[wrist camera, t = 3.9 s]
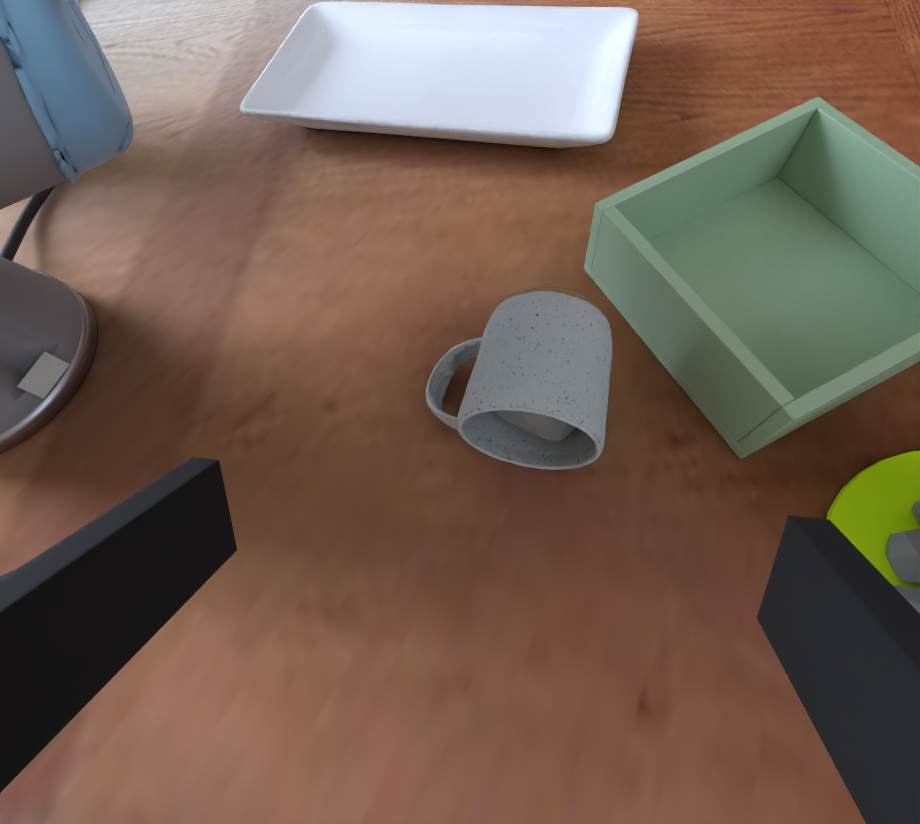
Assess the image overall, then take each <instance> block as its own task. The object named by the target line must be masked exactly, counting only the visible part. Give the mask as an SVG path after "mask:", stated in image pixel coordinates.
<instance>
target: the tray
mask: <svg viewBox="0 0 920 824" xmlns="http://www.w3.org/2000/svg"><path fill="white" fill-rule="evenodd" d="M638 22H639V13H638V11H637V10H635V9H632V8H627V7H548V6H497V5H446V4H413V3H372V2H319V3H315V4H313V5H311V6H310V7H308V8H307V9H306V10H305V12H304V13H303V15H302V16H301V17H300V19H299V20H298V22H297V23H296V25H295V26H294V27H293V29H292V30H291V32H290V33H289V35H288V36H287V38H286V39H285V40H284V42H283V43H282V45H281V46H280V48H279V49H278V50H277V52H276V53H275V55H274V56H273V58H272V59H271V60H270V62H269V63H268V65H267V66H266V68H265V69H264V71H263V72H262V74H261V75H260V77H259V78H258V79H257V81H256V82H255V83H254V85H253V86H252V88H251V89H250V91H249V92H248V93H247V95H246V96H245V98H244V99H243V101H242V102H241V104H240V106H239V111H240V112H241V113H242V114H244V115H247V116H251V117H256V118H260V119H264V120H269V121H274V122H280V123H288V124H297V125H300V126H303V127H307V128H316V129H329V130H342V131H355V132H368V133H381V134H393V135H406V136H418V137H430V138H442V139H454V140H466V141H477V142H489V143H501V144H512V145H524V146H536V147H548V148H566V147H580V146H590V145H596V144H601V143H605V142H607V141H609V140H610V139H611V138H612V136H613V134H614V132H615V128H616V124H617V120H618V114H619V109H620V104H621V99H622V93H623V88H624V83H625V78H626V74H627V70H628V65H629V61H630V56H631V52H632V47H633V43H634V39H635V35H636V31H637V27H638Z"/></svg>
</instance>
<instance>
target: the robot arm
mask: <svg viewBox="0 0 920 824" xmlns="http://www.w3.org/2000/svg"><path fill="white" fill-rule="evenodd" d="M132 138H133V121H132V117H131V114H130V110H129V107H128V104H127V102H126V99H125V97H124V95H123V92H122V90H121V88H120V86H119V83H118V81H117V79H116V77H115V75H114V73H113V71H112V69H111V67H110V65H109V63H108V61H107V59H106V57H105V55H104V53H103V51H102V49H101V47H100V45H99V43H98V41H97V40H96V38H95V36H94V34H93V32H92V30H91V28H90V26H89V25H88V23H87V21H86V19H85V17H84V15H83V13H82V12H81V10H80V8H79V6H78V4H77V3H76V1H75V0H0V209H2V208H5V207H7V206H9V205H12V204H14V203H16V202H18V201H21V200H23V199H25V198H28V197H30V196H32V195H33V196H32V198H31V199H30V201H29V202H28V204H27V205H26V207H25V208H24V210H23V211H22V213H21V215H20V216H19V218H18V220H17V222H16V223H15V225H14V227H13V229H12V231H11V233H10V235H9V237H8V239H7V241H6V243H5V245H4V247H3V249H2V251H1V253H0V452H1V451H3V450H6V449H8V448H9V447H11V446H13V445H15V444H17V443H19V442H20V441H22V440H24V439H25V438H27V437H28V436H30V435H31V434H33V433H34V432H35V431H37V430H38V429H39V428H40V427H42V426H43V425H44V424H45V423H47V422H48V421H49V420H50V419H51V418H52V417H53V416H54V415H55V414H56V413H57V412H58V411H59V410H60V409H61V408H62V407H63V406H64V405H65V403H66V402H67V401H68V400H69V399H70V397H71V396H72V395H73V393H74V392H75V391H76V389H77V388H78V386H79V385H80V383H81V382H82V380H83V378H84V376H85V374H86V372H87V370H88V368H89V366H90V364H91V361H92V358H93V355H94V351H95V347H96V341H97V324H96V319H95V316H94V313H93V311H92V309H91V307H90V305H89V304H88V303H87V302H86V300H85V299H84V298H83V297H81V296H80V295H79V294H78V293H76V292H75V291H74V290H72V289H71V288H70V287H68V286H67V285H65V284H64V283H62V282H61V281H59V280H57V279H55V278H53V277H51V276H50V275H47V274H45V273H43V272H40V271H37V270H32V269H30V268H27V267H25V266H22V265H20V264H18V263H15V262H13V258H14V256H15V254H16V252H17V250H18V248H19V246H20V244H21V242H22V239H23V237H24V235H25V233H26V231H27V229H28V227H29V226H30V224H31V222H32V220H33V218H34V217H35V215H36V213H37V212H38V210H39V209H40V207H41V206H42V204H43V203H44V202H45V200H46V199H47V197H48V196H49V195H50V193H51V192H52V190H53V189H54V188H55V186H56V185H57V184H60V183H62V182H64V181H66V180H68V181H69V182H71V183H75V182H77V181H79V180H80V177H81V174H83V173H85V172H87V171H89V170H91V169H93V168H95V167H97V166H99V165H101V164H103V163H105V162H107V161H109V160H111V159H113V158H115V157H117V156H119V155H120V154H122V153H123V152H124V151H125V150H126V149H127V148H128V147H129V145H130V143H131V141H132ZM236 550H237V547H236V542H235V537H234V532H233V527H232V522H231V517H230V512H229V507H228V502H227V497H226V492H225V487H224V482H223V477H222V472H221V467H220V462H219V460H215V459H204V458H194V457H192V458H190V459H189V460H187V461H186V462H184V463H182V464H181V465H179V466H178V467H176V468H175V469H173V470H171V471H170V472H168V473H167V474H165V475H164V476H162V477H160V478H159V479H157V480H156V481H154V482H153V483H151V484H150V485H148V486H146V487H145V488H143V489H142V490H140V491H139V492H137V493H135V494H134V495H132V496H131V497H129V498H128V499H126V500H124V501H123V502H121V503H120V504H118V505H117V506H115V507H113V508H112V509H110V510H109V511H107V512H106V513H104V514H103V515H101V516H99V517H98V518H96V519H95V520H93V521H92V522H90V523H88V524H87V525H85V526H84V527H82V528H81V529H79V530H77V531H76V532H74V533H73V534H71V535H70V536H68V537H66V538H65V539H63V540H62V541H60V542H59V543H57V544H56V545H54V546H52V547H51V548H49V549H48V550H46V551H45V552H43V553H41V554H40V555H38V556H37V557H35V558H34V559H32V560H30V561H29V562H27V563H26V564H24V565H23V566H21V567H19V568H18V569H16V570H14V571H11V572H9V573H7V574H5V575H3V576H0V792H1V791H2V790H3V789H4V788H5V787H6V786H7V785H8V784H9V783H10V782H11V781H12V780H13V779H14V778H15V777H16V776H17V775H18V774H19V773H20V772H21V771H22V770H23V769H24V768H25V767H26V766H27V765H28V764H29V763H30V762H31V761H32V760H33V759H34V758H35V757H36V756H37V755H38V754H39V752H40V751H41V750H42V749H43V748H44V747H45V746H46V745H47V744H48V743H49V742H50V741H51V740H52V739H53V738H54V737H55V736H56V735H57V734H58V733H59V732H60V731H61V730H62V729H63V728H64V727H65V726H66V725H67V724H68V723H69V722H70V721H71V720H72V719H73V718H74V717H75V716H76V715H77V714H78V712H79V711H80V710H81V709H82V708H83V707H84V706H85V705H86V704H87V703H88V702H89V701H90V700H91V699H92V698H93V697H94V696H95V695H96V694H97V693H98V692H99V691H100V690H101V689H102V688H103V687H104V686H105V685H106V684H107V683H108V682H109V681H110V680H111V679H112V678H113V677H114V676H115V675H116V674H117V673H118V671H119V670H120V669H121V668H122V667H123V666H124V665H125V664H126V663H127V662H128V661H129V660H130V659H131V658H132V657H133V656H134V655H135V654H136V653H137V652H138V651H139V650H140V649H141V648H142V647H143V646H144V645H145V644H146V643H147V642H148V641H149V640H150V639H151V638H152V637H153V636H154V635H155V634H156V633H157V631H158V630H159V629H160V628H161V627H162V626H163V625H164V624H165V623H166V622H167V621H168V620H169V619H170V618H171V617H172V616H173V615H174V614H175V613H176V612H177V611H178V610H179V609H180V608H181V607H182V606H183V605H184V604H185V603H186V602H187V601H188V600H189V599H190V598H191V597H192V596H193V595H194V594H195V593H196V591H197V590H198V589H199V588H200V587H201V586H202V585H203V584H204V583H205V582H206V581H207V580H208V579H209V578H210V577H211V576H212V575H213V574H214V573H215V572H216V571H217V570H218V569H219V568H220V567H221V566H222V565H223V564H224V563H225V562H226V561H227V560H228V559H229V558H230V557H231V556H232V555H233V554H234V553H235V551H236ZM757 619H758V621H759V623H760V625H761V626H762V628H763V630H764V632H765V634H766V636H767V638H768V640H769V642H770V643H771V645H772V647H773V649H774V651H775V653H776V655H777V657H778V658H779V660H780V662H781V664H782V666H783V668H784V670H785V672H786V674H787V675H788V677H789V679H790V681H791V683H792V685H793V687H794V689H795V690H796V692H797V694H798V696H799V698H800V700H801V702H802V704H803V706H804V707H805V709H806V711H807V713H808V715H809V717H810V719H811V721H812V722H813V724H814V726H815V728H816V730H817V732H818V734H819V736H820V738H821V739H822V741H823V743H824V745H825V747H826V749H827V751H828V753H829V755H830V756H831V758H832V760H833V762H834V764H835V766H836V768H837V770H838V771H839V773H840V775H841V777H842V779H843V781H844V783H845V785H846V787H847V788H848V790H849V792H850V794H851V796H852V798H853V800H854V802H855V803H856V805H857V807H858V809H859V811H860V813H861V815H862V817H863V819H864V820H865V822H866V824H920V613H919V612H918V611H917V610H916V609H915V608H914V607H913V606H912V605H911V604H910V603H909V602H908V601H907V600H906V599H905V598H904V597H903V596H902V595H901V594H900V593H899V592H898V590H897V589H896V588H895V587H894V586H893V585H892V584H891V583H890V582H889V581H888V580H887V579H886V578H885V577H884V576H883V575H882V574H881V573H880V572H879V571H878V570H877V569H876V568H875V567H874V565H873V564H872V563H871V562H870V561H869V560H868V559H867V558H866V557H865V556H864V555H863V554H862V553H861V552H860V551H859V550H858V549H857V548H856V547H855V546H854V545H853V544H852V543H851V542H850V540H849V539H848V538H847V537H846V536H845V535H844V534H843V533H842V532H841V531H840V530H839V529H838V528H837V527H836V526H835V525H834V524H833V523H832V522H831V521H830V520H828V519H818V518H808V517H797V516H788V519H787V522H786V526H785V529H784V532H783V535H782V539H781V542H780V545H779V548H778V552H777V555H776V558H775V561H774V564H773V568H772V571H771V574H770V577H769V581H768V584H767V587H766V590H765V594H764V597H763V600H762V603H761V607H760V610H759V613H758V616H757Z"/></svg>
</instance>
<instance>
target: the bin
mask: <svg viewBox="0 0 920 824" xmlns="http://www.w3.org/2000/svg"><path fill="white" fill-rule="evenodd" d="M584 270H585V271H586V272H587V273H588V274H589V276H590V277H591V278H592V279H593V281H594V282H595V283H596V284H597V285H598V287H599V288H600V289H601V290H602V292H603V293H604V294H605V295H606V296H607V298H608V299H609V300H610V301H611V302H612V304H613V305H614V306H615V307H616V309H617V310H618V311H619V312H620V313H621V315H622V316H623V317H624V318H625V320H626V321H627V322H628V323H629V324H630V326H631V327H632V328H633V329H634V330H635V332H636V333H637V334H638V335H639V337H640V338H641V339H642V340H643V341H644V343H645V344H646V345H647V346H648V348H649V349H650V350H651V351H652V352H653V354H654V355H655V356H656V357H657V358H658V360H659V361H660V362H661V363H662V365H663V366H664V367H665V368H666V369H667V371H668V372H669V373H670V374H671V376H672V377H673V378H674V379H675V380H676V382H677V383H678V384H679V385H680V386H681V388H682V389H683V390H684V391H685V393H686V394H687V395H688V396H689V397H690V399H691V400H692V401H693V402H694V404H695V405H696V406H697V407H698V408H699V410H700V411H701V412H702V413H703V414H704V416H705V417H706V418H707V419H708V421H709V422H710V423H711V424H712V425H713V427H714V428H715V429H716V430H717V432H718V433H719V434H720V435H721V436H722V438H723V439H724V440H725V441H726V443H727V444H728V445H729V446H730V447H731V449H732V450H733V451H734V452H735V453H736V455H737V456H738V457H739V458H740V459H742V458H744V457H746V456H748V455H750V454H751V453H753V452H755V451H757V450H759V449H761V448H762V447H764V446H766V445H768V444H770V443H772V442H773V441H775V440H777V439H779V438H781V437H782V436H784V435H786V434H788V433H790V432H792V431H793V430H795V429H797V428H799V427H801V426H803V425H804V424H806V423H808V422H810V421H812V420H813V419H815V418H817V417H819V416H821V415H823V414H824V413H826V412H828V411H830V410H832V409H834V408H835V407H837V406H839V405H841V404H843V403H844V402H846V401H848V400H850V399H852V398H854V397H855V396H857V395H859V394H861V393H863V392H865V391H866V390H868V389H870V388H872V387H874V386H875V385H877V384H879V383H881V382H883V381H885V380H886V379H888V378H890V377H892V376H894V375H896V374H897V373H899V372H901V371H903V370H905V369H906V368H908V367H910V366H912V365H914V364H916V363H917V362H919V361H920V167H919V166H918V165H916V164H915V163H913V162H912V161H910V160H909V159H907V158H906V157H905V156H903V155H902V154H900V153H899V152H897V151H896V150H894V149H893V148H892V147H890V146H889V145H887V144H886V143H884V142H883V141H881V140H880V139H879V138H877V137H876V136H874V135H873V134H871V133H870V132H868V131H867V130H865V129H864V128H863V127H861V126H860V125H858V124H857V123H855V122H854V121H852V120H851V119H850V118H848V117H847V116H845V115H844V114H842V113H841V112H839V111H838V110H836V109H835V108H834V107H832V106H831V105H829V104H827V102H825V101H824V100H822V99H821V98H820V97H816V98H814V99H812V100H809V101H807V102H805V103H803V104H801V105H799V106H797V107H795V108H793V109H791V110H788V111H786V112H784V113H782V114H780V115H778V116H776V117H774V118H772V119H770V120H768V121H765V122H763V123H761V124H759V125H757V126H755V127H753V128H751V129H749V130H747V131H745V132H742V133H740V134H738V135H736V136H734V137H732V138H730V139H728V140H726V141H724V142H721V143H719V144H717V145H715V146H713V147H711V148H709V149H707V150H705V151H703V152H701V153H698V154H696V155H694V156H692V157H690V158H688V159H686V160H684V161H682V162H680V163H677V164H675V165H673V166H671V167H669V168H667V169H665V170H663V171H661V172H659V173H657V174H654V175H652V176H650V177H648V178H646V179H644V180H642V181H640V182H638V183H636V184H634V185H631V186H629V187H627V188H625V189H623V190H621V191H619V192H617V193H615V194H613V195H610V196H608V197H606V198H604V199H602V200H600V201H598V202H596V203H595V208H594V214H593V219H592V225H591V230H590V236H589V242H588V247H587V253H586V258H585V264H584Z"/></svg>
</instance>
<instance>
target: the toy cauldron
mask: <svg viewBox="0 0 920 824" xmlns="http://www.w3.org/2000/svg"><path fill="white" fill-rule="evenodd" d="M826 519H828V520H830V521H831V522H832V523H833V524H834V525H835V526H836V527H837V528H838V529H839V530H840V531H841V532H842V533H843V534H844V535H845V536H846V537H847V538H848V539H849V540H850V542H851V543H852V544H853V545H854V546H855V547H856V548H857V549H858V550H859V551H860V552H861V553H862V554H863V555H864V556H865V557H866V558H867V559H868V560H869V561H870V562H871V563H872V564H873V565H874V567H875V568H876V569H877V570H878V571H879V572H880V573H881V574H882V575H883V576H884V577H885V578H886V579H887V580H888V581H889V582H890V583H891V584H892V585H893V586H894V587H895V588H896V589H897V590H898V592H899V593H900V594H901V595H902V596H903V597H904V598H905V599H906V600H907V601H908V602H909V603H910V604H911V605H912V606H913V607H914V608H915V609H916V610H917V611H918V612H919V613H920V451H912V452H907V453H903V454H900V455H897V456H893V457H890V458H887V459H883V460H880V461H878V462H877V463H875V464H873V465H871V466H870V467H868V468H866V469H864V470H863V471H861V472H859V473H858V474H857V475H856V476H855V477H854V478H853V479H852V480H850V481H849V482H848V483H847V484H846V485H845V486H844V487H843V488H842V489H841V490H840V492H839V494H838V495H837V497H836V499H835V500H834V502H833V504H832V505H831V507H830V509H829V510H828V513H827V517H826Z"/></svg>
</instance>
